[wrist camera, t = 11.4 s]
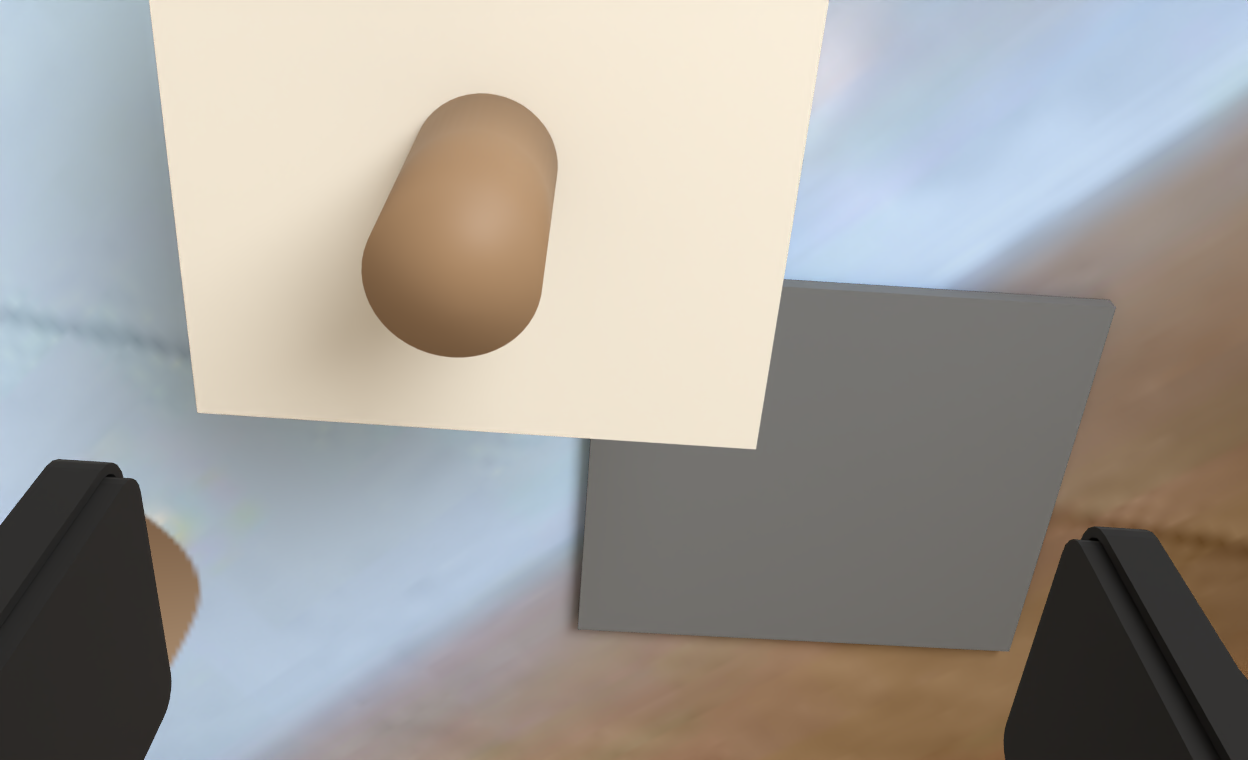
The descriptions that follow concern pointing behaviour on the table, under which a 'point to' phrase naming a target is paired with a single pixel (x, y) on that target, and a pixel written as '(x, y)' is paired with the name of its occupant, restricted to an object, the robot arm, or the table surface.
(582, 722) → the table surface
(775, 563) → the mat
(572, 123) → the lid
